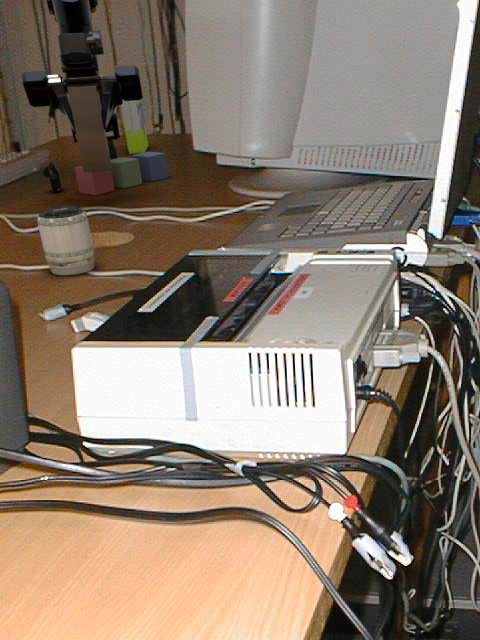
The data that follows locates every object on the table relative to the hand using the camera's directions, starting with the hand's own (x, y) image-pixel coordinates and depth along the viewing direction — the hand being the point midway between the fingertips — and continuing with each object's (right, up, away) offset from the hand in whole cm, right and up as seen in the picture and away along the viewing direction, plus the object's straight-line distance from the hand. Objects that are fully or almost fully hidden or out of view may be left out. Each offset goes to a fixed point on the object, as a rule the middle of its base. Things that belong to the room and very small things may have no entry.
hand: (89, 128), depth 150 cm
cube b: (0, -1, +22) cm, 22 cm away
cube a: (+4, +2, +27) cm, 27 cm away
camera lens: (+7, -31, -29) cm, 43 cm away
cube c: (-4, -4, +17) cm, 18 cm away
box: (-8, +19, +58) cm, 61 cm away
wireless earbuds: (-13, -4, +19) cm, 23 cm away
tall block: (0, -5, +5) cm, 7 cm away
